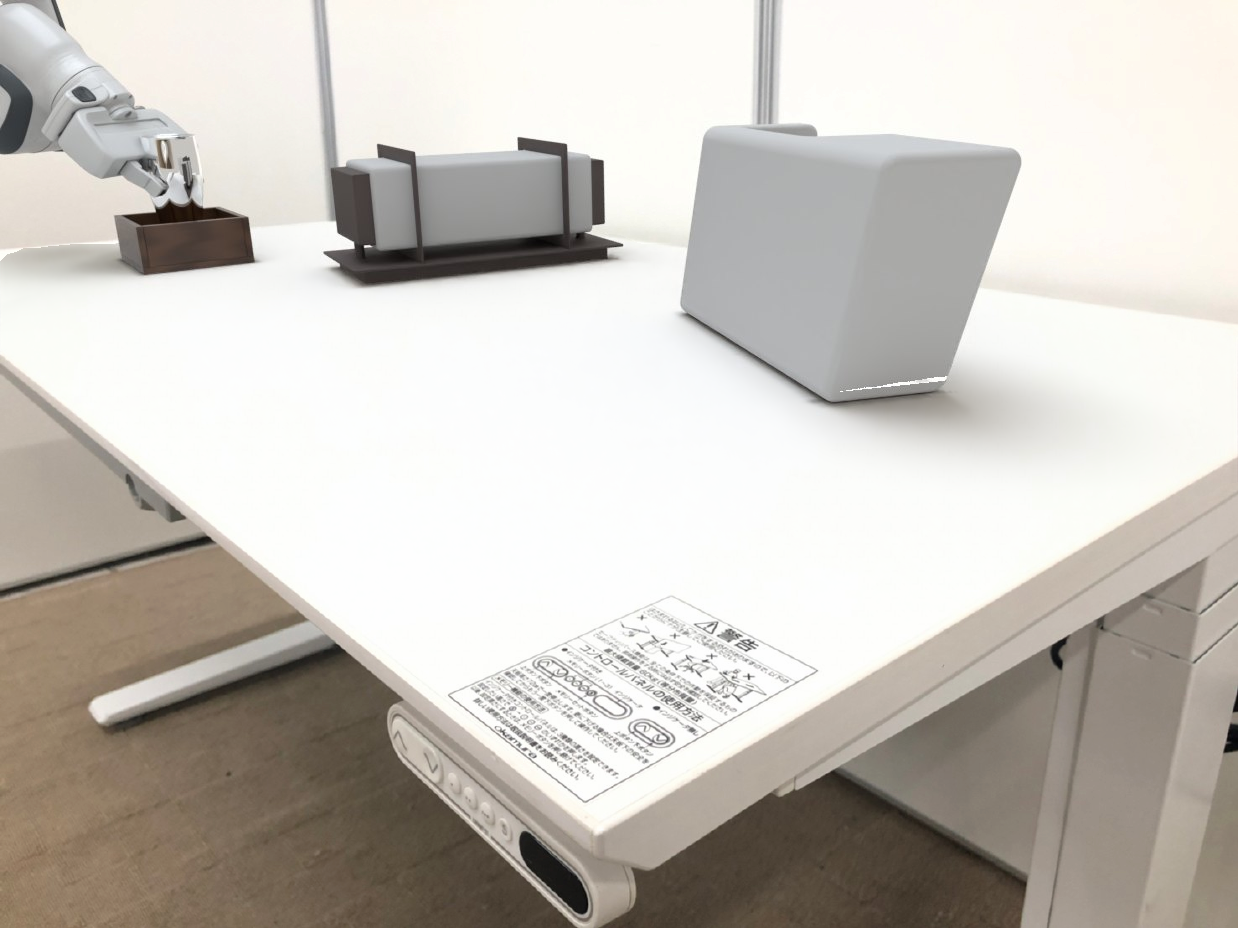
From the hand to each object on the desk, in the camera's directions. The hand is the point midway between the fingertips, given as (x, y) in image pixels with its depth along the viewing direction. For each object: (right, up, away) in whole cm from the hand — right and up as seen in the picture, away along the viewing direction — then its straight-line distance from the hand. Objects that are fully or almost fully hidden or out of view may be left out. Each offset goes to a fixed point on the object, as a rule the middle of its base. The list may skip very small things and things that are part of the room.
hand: (181, 189), depth 136 cm
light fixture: (+38, -10, -1) cm, 39 cm away
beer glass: (-1, -8, +3) cm, 9 cm away
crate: (-1, -9, +3) cm, 9 cm away
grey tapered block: (+73, -26, -45) cm, 90 cm away
